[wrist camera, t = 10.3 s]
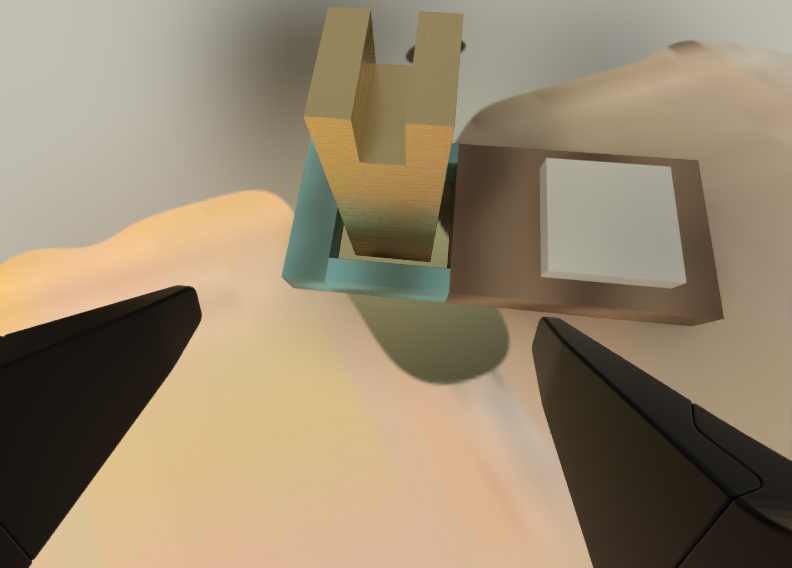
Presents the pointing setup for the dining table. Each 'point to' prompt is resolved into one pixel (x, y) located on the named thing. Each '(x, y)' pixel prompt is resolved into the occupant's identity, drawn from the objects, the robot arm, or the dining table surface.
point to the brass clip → (385, 130)
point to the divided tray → (538, 238)
